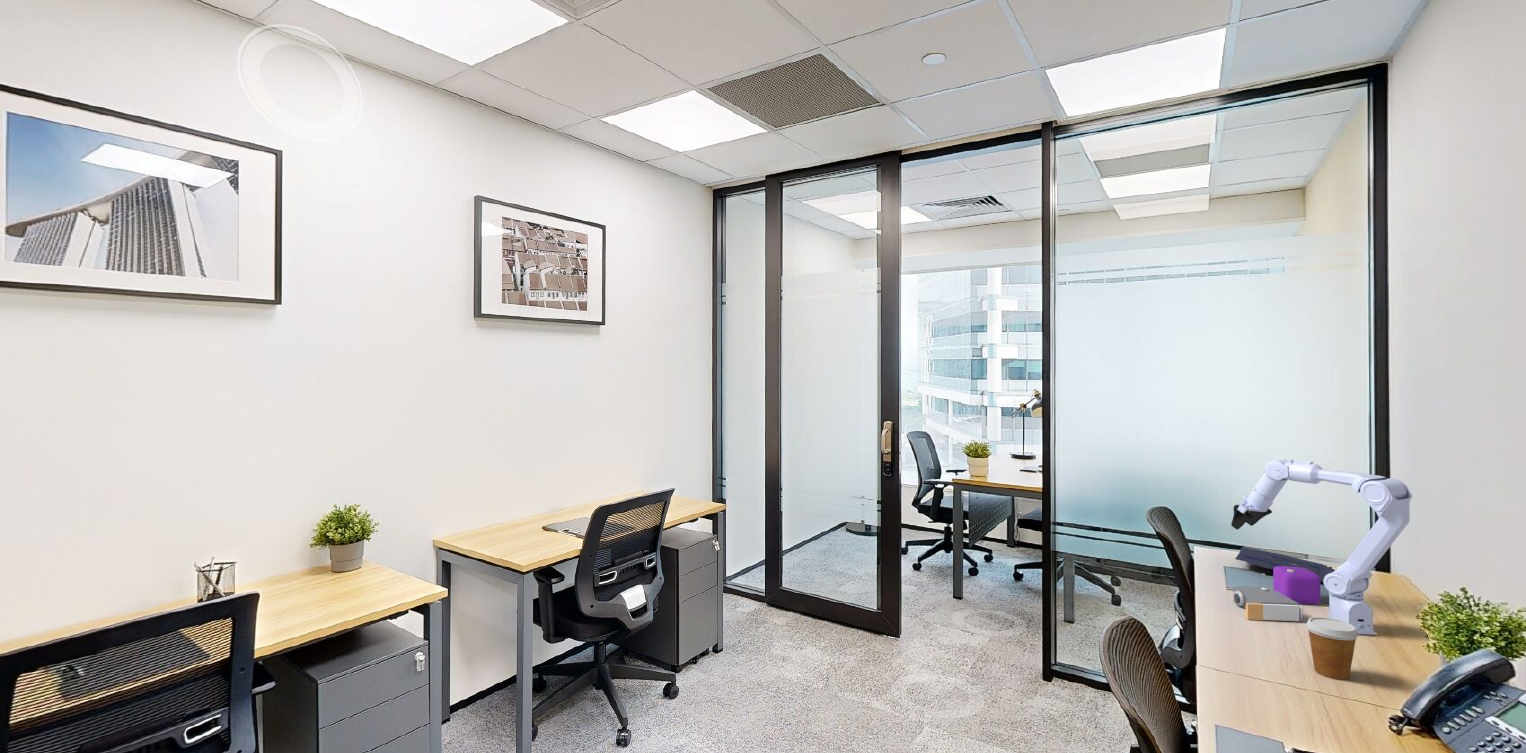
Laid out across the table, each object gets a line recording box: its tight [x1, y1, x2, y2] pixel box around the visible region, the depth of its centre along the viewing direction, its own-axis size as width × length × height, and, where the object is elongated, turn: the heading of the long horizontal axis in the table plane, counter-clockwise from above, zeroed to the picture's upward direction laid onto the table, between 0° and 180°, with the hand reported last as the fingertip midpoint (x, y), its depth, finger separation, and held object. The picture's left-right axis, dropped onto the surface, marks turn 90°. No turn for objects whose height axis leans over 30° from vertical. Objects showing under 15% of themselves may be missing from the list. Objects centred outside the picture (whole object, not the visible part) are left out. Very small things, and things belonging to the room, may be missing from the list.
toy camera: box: [1272, 566, 1321, 605], centre depth 204 cm, size 11×14×10 cm
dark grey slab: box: [1235, 546, 1335, 583], centre depth 231 cm, size 24×30×4 cm
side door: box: [1245, 603, 1300, 622], centre depth 187 cm, size 13×1×4 cm, turn 81°
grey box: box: [1233, 585, 1304, 622], centre depth 193 cm, size 15×12×6 cm
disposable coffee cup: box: [1305, 616, 1360, 681], centre depth 155 cm, size 10×10×12 cm
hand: (1241, 525), depth 207 cm, fingers open, 7 cm apart
